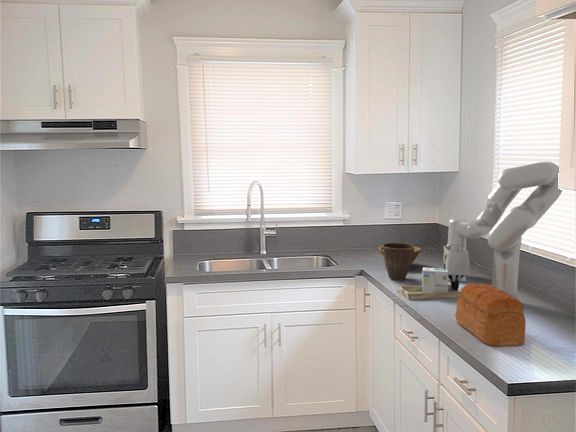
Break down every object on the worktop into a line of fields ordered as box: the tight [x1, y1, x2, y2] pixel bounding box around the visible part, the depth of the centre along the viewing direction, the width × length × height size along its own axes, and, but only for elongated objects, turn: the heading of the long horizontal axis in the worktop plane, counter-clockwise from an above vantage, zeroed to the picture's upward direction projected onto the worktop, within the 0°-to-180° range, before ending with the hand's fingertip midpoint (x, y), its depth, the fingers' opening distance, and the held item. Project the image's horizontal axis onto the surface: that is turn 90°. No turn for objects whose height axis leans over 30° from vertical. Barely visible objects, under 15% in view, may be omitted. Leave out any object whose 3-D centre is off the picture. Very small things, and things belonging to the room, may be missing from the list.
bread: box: [454, 282, 527, 347], centre depth 182 cm, size 14×27×15 cm, turn 6°
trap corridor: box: [397, 284, 460, 301], centre depth 230 cm, size 12×26×2 cm, turn 100°
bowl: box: [378, 245, 421, 264], centre depth 285 cm, size 22×23×10 cm
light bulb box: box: [421, 267, 449, 293], centre depth 230 cm, size 11×7×11 cm, turn 77°
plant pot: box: [382, 242, 415, 281], centre depth 258 cm, size 15×15×16 cm
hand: (454, 289), depth 232 cm, fingers closed
